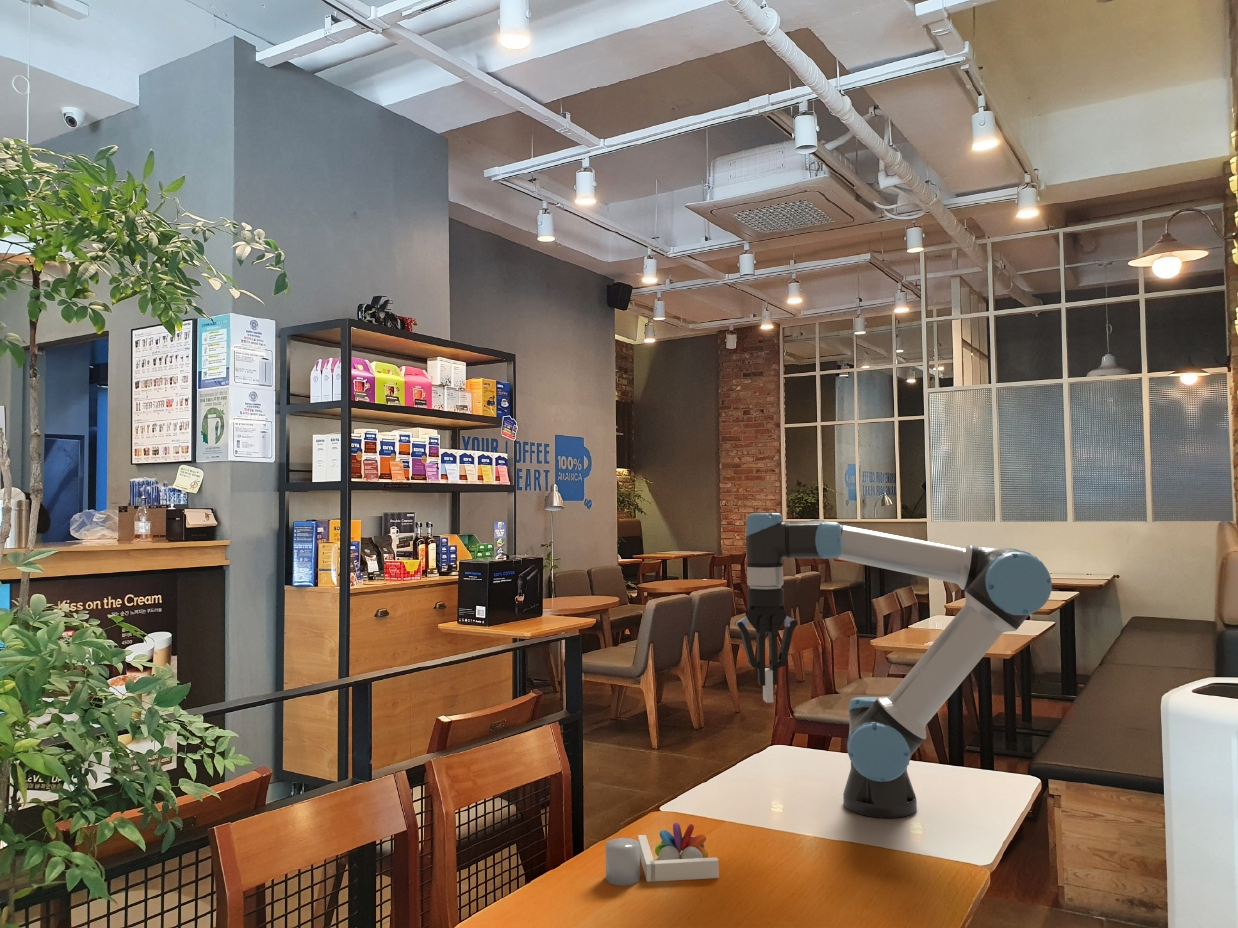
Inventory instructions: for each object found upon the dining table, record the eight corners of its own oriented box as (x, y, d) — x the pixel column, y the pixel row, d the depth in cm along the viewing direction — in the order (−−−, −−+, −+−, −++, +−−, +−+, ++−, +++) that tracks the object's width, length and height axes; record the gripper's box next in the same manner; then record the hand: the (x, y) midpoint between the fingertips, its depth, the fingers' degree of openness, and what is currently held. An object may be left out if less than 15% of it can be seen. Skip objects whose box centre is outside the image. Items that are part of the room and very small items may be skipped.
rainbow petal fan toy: (707, 873, 163) (706, 832, 163) (653, 871, 164) (652, 830, 164) (709, 855, 171) (708, 815, 172) (657, 853, 173) (656, 814, 173)
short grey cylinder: (638, 870, 164) (637, 836, 165) (641, 884, 158) (641, 849, 159) (604, 872, 164) (604, 838, 164) (607, 886, 158) (606, 851, 158)
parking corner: (704, 847, 175) (704, 831, 175) (718, 877, 161) (718, 860, 161) (638, 851, 174) (637, 835, 174) (646, 881, 160) (646, 864, 160)
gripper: (791, 584, 195) (793, 696, 194) (730, 586, 194) (733, 698, 193) (801, 587, 188) (804, 703, 187) (738, 589, 187) (741, 706, 186)
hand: (768, 700), depth 190 cm, fingers closed
